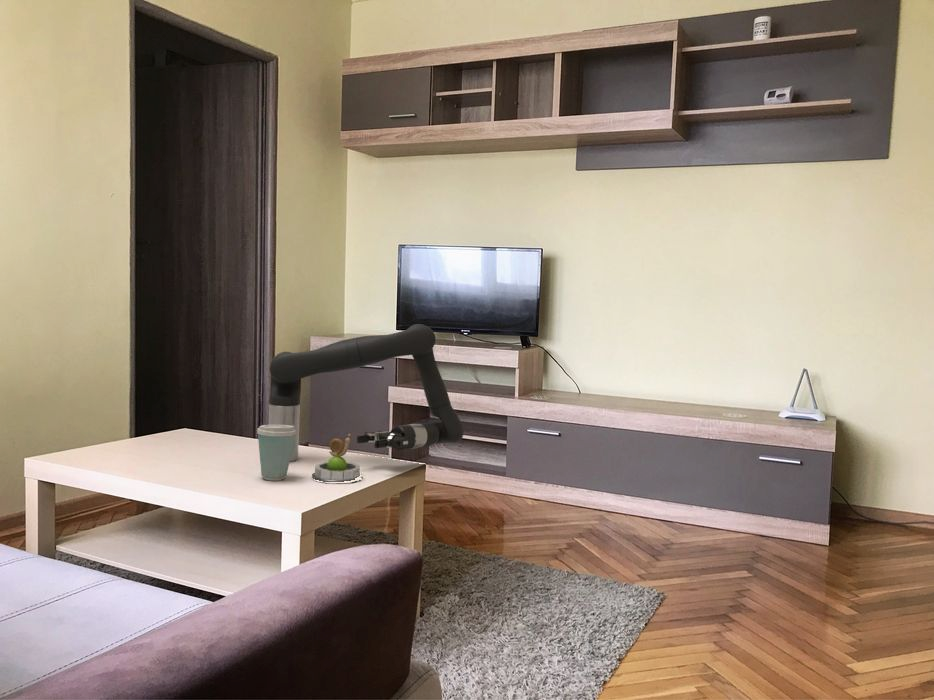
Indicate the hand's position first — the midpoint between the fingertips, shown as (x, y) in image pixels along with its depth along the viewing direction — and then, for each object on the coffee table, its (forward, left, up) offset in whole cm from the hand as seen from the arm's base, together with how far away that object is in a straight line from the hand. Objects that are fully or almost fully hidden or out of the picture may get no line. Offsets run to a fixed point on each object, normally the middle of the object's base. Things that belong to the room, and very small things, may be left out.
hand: (366, 442), depth 218 cm
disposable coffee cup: (-25, -7, -9) cm, 27 cm away
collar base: (-8, -6, -9) cm, 13 cm away
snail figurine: (-8, -6, -9) cm, 13 cm away
